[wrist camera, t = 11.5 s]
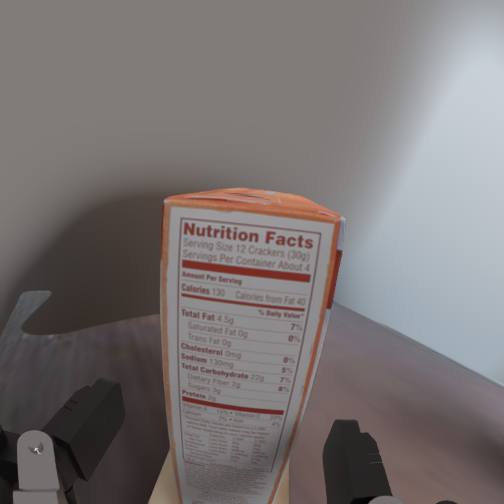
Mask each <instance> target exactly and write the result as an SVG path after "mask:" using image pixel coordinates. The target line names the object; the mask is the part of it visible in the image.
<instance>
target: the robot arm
mask: <svg viewBox="0 0 504 504" xmlns="http://www.w3.org/2000/svg"><path fill="white" fill-rule="evenodd" d="M124 417H125V410H124V404H123V399H122V393H121V387H120V384H119V383H116V382H113V381H110V380H107V379H104V378H100V379H98V380H97V381H96V383H95V384H94V385H93V386H92V387H89V386H86V387H84V388H82V389H80V390H78V391H76V392H75V393H74V395H73V396H72V397H71V398H70V399H69V401H67V402H66V403H65V405H64V407H62V408H61V409H60V410H59V411H58V412H57V414H56V415H55V416H54V417H53V418H52V419H51V420H50V421H49V423H48V424H47V425H46V426H45V427H44V428H43V429H42V430H41V431H37V430H32V431H28V432H25V433H24V434H22V435H18V434H14V433H11V432H7V431H4V430H3V429H2V427H1V425H0V504H12V503H13V502H14V504H80V503H79V499H78V495H77V491H76V487H75V484H74V482H75V480H76V479H77V477H79V478H81V479H83V480H85V481H88V480H89V478H90V476H91V475H92V473H93V471H94V470H95V468H96V466H97V465H98V463H99V462H100V460H101V458H102V457H103V455H104V453H105V452H106V450H107V448H108V447H109V445H110V444H111V442H112V440H113V439H114V437H115V435H116V434H117V432H118V431H119V429H120V427H121V426H122V424H123V421H124ZM323 468H324V476H325V485H326V495H327V504H403V502H401V501H400V500H399V499H397V498H395V497H393V495H392V493H391V490H390V486H389V483H388V479H387V476H386V473H385V469H384V466H383V463H382V459H381V456H380V455H379V450H378V447H377V443H376V441H375V440H374V439H373V438H372V437H371V436H370V434H369V433H360V429H359V425H358V422H357V421H356V420H335V422H334V424H333V426H332V428H331V431H330V433H329V436H328V438H327V440H326V443H325V445H324V449H323ZM436 504H457V503H455V502H452V501H441V502H438V503H436Z"/></svg>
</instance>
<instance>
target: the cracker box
mask: <svg viewBox="0 0 504 504" xmlns="http://www.w3.org/2000/svg"><path fill="white" fill-rule="evenodd" d="M345 225H346V220H345V218H344V217H343V216H341V215H340V214H338V213H336V212H334V211H331V210H329V209H327V208H325V207H323V206H321V205H318V204H316V203H314V202H312V201H311V200H309V199H306V198H304V197H302V196H297V195H293V194H286V193H278V192H274V191H266V190H259V189H251V188H230V189H220V190H212V191H204V192H198V193H191V194H183V195H177V196H171V197H167V198H166V199H165V200H164V202H163V205H162V223H161V277H160V316H161V343H162V363H163V379H164V392H165V404H166V415H167V425H168V434H169V442H170V450H171V458H172V465H173V471H174V478H175V484H176V490H177V495H178V500H179V504H273V503H274V501H275V498H276V495H277V493H278V490H279V487H280V485H281V482H282V479H283V477H284V474H285V471H286V468H287V465H288V463H289V460H290V457H291V454H292V451H293V448H294V445H295V442H296V439H297V435H298V432H299V429H300V426H301V423H302V419H303V416H304V412H305V409H306V406H307V402H308V399H309V395H310V391H311V388H312V384H313V381H314V377H315V373H316V369H317V366H318V362H319V358H320V354H321V350H322V346H323V342H324V338H325V334H326V330H327V325H328V321H329V316H330V311H331V307H332V302H333V297H334V292H335V287H336V280H337V276H338V270H339V266H340V261H341V257H342V248H343V241H344V234H345V227H346V226H345Z"/></svg>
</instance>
